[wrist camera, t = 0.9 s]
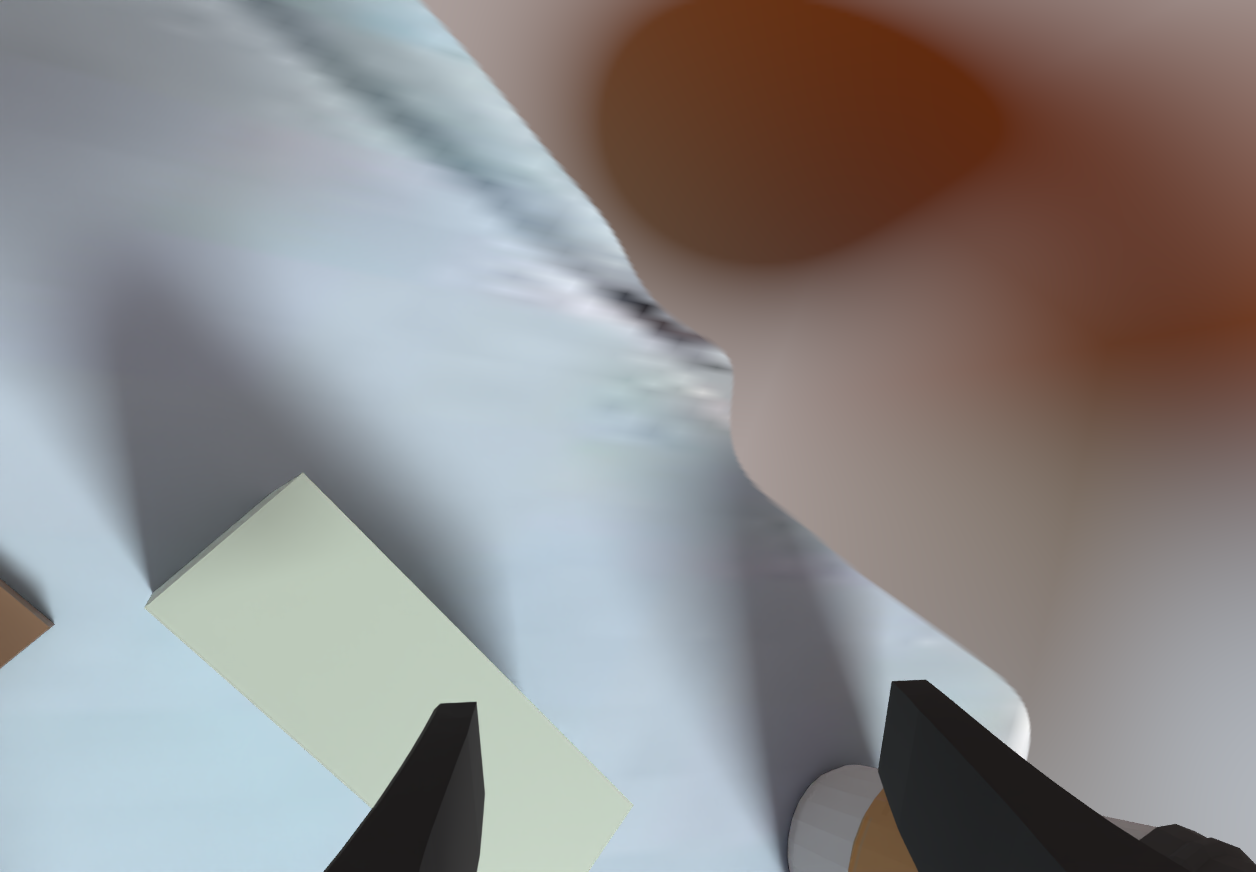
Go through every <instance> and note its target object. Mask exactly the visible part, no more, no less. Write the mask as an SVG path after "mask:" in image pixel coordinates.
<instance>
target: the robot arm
mask: <svg viewBox="0 0 1256 872" xmlns="http://www.w3.org/2000/svg"><path fill="white" fill-rule="evenodd" d="M878 774H879V777H880V780H881V783H882V786H883V788H884V791H885V794H886V797H887V800H888V803H889V806H890V809H891V812H892V814H893V817H894V820H895V823H896V825H897V828H898V831H899V833H900V835H901V837H902V839H903V841H904V843H905V845H906V848H907V850H908V852H909V854H910V856H911V858H912V860H913V862H914V864H915V866H916V868H917V870H918V872H1191V871H1189V870H1188V869H1186V868H1184V867H1182V866H1181V865H1179V864H1177V863H1176V862H1174V861H1172V860H1171V859H1169V858H1167V857H1165V856H1164V855H1162V854H1160V853H1159V852H1157V851H1156V850H1154V849H1152V848H1151V847H1149V846H1148V845H1146V844H1145V843H1143V842H1141V841H1140V840H1138V839H1137V838H1135V837H1133V836H1132V835H1130V834H1129V833H1127V832H1126V831H1124V830H1122V829H1121V828H1119V827H1118V826H1116V825H1115V824H1113V823H1112V822H1110V821H1109V820H1107V819H1106V818H1104V817H1103V816H1101V815H1100V814H1098V813H1097V812H1095V811H1094V810H1092V809H1091V808H1089V807H1088V806H1087V805H1085V804H1084V803H1083V802H1081V801H1080V800H1078V799H1077V798H1076V797H1074V796H1073V795H1071V794H1070V793H1069V792H1067V791H1066V790H1064V789H1063V788H1062V787H1060V786H1059V785H1057V784H1056V783H1055V782H1053V781H1052V780H1051V779H1049V778H1048V777H1046V776H1045V775H1044V774H1043V773H1041V772H1040V771H1039V770H1037V769H1036V768H1035V767H1034V766H1032V765H1031V764H1030V763H1028V762H1027V761H1026V760H1025V759H1023V758H1022V757H1021V756H1019V755H1018V754H1017V753H1016V752H1014V751H1013V750H1012V749H1011V748H1009V747H1008V746H1007V745H1006V744H1004V743H1003V742H1002V741H1001V740H999V739H998V738H997V737H996V736H994V735H993V734H992V733H991V732H990V731H988V730H987V729H986V728H985V727H983V726H982V725H981V724H980V723H979V722H977V721H976V720H975V719H974V718H972V717H971V716H970V715H969V714H968V713H966V712H965V711H964V710H963V709H962V708H960V707H959V706H958V705H957V704H956V703H954V702H953V701H952V700H951V699H949V698H948V697H947V696H946V695H945V694H943V693H942V692H941V691H940V690H938V689H937V688H936V687H935V686H933V685H932V684H931V683H929V682H928V681H927V680H909V681H892V683H891V690H890V696H889V703H888V709H887V716H886V722H885V729H884V735H883V742H882V748H881V755H880V761H879V768H878ZM484 802H485V787H484V776H483V765H482V755H481V744H480V733H479V722H478V711H477V702H458V703H440V704H439V705H438V706H437V707H436V708H435V709H434V710H433V712H432V714H431V716H430V718H429V720H428V722H427V723H426V725H425V727H424V729H423V731H422V732H421V734H420V736H419V737H418V739H417V741H416V743H415V744H414V746H413V748H412V749H411V751H410V752H409V754H408V756H407V757H406V759H405V760H404V762H403V764H402V765H401V767H400V768H399V770H398V771H397V773H396V774H395V776H394V777H393V779H392V780H391V782H390V783H389V785H388V786H387V788H386V789H385V791H384V792H383V794H382V795H381V797H380V798H379V800H378V801H377V802H376V804H375V805H374V807H373V808H372V810H371V811H370V812H369V814H368V815H367V816H366V818H365V819H364V820H363V822H362V823H361V824H360V826H359V827H358V828H357V830H356V831H355V832H354V834H353V835H352V836H351V838H350V839H349V840H348V842H347V843H346V844H345V846H344V847H343V848H342V849H341V851H340V852H339V853H338V855H337V856H336V857H335V858H334V859H333V861H332V862H331V863H330V864H329V866H328V867H327V868H326V869H325V870H324V872H477V869H478V863H479V858H480V849H481V838H482V827H483V814H484Z"/></svg>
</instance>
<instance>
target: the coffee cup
mask: <svg viewBox="0 0 1256 872" xmlns="http://www.w3.org/2000/svg"><path fill="white" fill-rule="evenodd" d="M1103 817H1104V818H1106V819H1107V820H1109V821H1110V822H1112V823H1113V824H1115V825H1116V826H1118V827H1119V828H1121V829H1122V830H1124V831H1126V832H1127V833H1129V834H1130V835H1132V836H1133V837H1135V838H1137V839H1138V840H1140V841H1141V842H1143V843H1145V844H1146V845H1148V846H1149V847H1151V848H1152V849H1154V850H1156V851H1157V852H1159V853H1160V854H1162V855H1164V856H1165V857H1167V858H1169V859H1171V860H1172V861H1174V862H1176V863H1177V864H1179V865H1181V866H1182V867H1184V868H1186V869H1188V870H1189V871H1191V872H1256V864H1255V863H1254V862H1253V861H1252V860H1251V859H1250V858H1249V857H1248V856H1247V855H1246V854H1245V853H1244V852H1243V851H1242V850H1241V849H1240V848H1238V847H1235V846H1233V845H1230V844H1227V843H1225V842H1222V841H1219V840H1217V839H1214V838H1206V837H1204V836H1203V835H1201V834H1199V833H1197V832H1195V831H1192V830H1190V829H1187V828H1185V827H1182V826H1180V825H1177V824H1173V825H1167V826H1161V827H1153V826H1148V825H1143V824H1138V823H1134V822H1129V821H1124V820H1120V819H1114V818H1110V817H1105V816H1103ZM788 864H789V870H790V872H918V870H917V868H916V866H915V864H914V862H913V860H912V858H911V856H910V854H909V852H908V850H907V848H906V845H905V843H904V841H903V839H902V837H901V835H900V833H899V831H898V828H897V825H896V823H895V820H894V817H893V814H892V812H891V809H890V806H889V803H888V800H887V797H886V794H885V791H884V788H883V786H882V783H881V780H880V777H879V774H878V769H877V768H873V767H868V766H863V765H844V766H842V767H840V768H838V769H834V770H831V771H829V772H827V773H825V774H823V775H821V776H820V777H819V778H818V779H816V780H815V781H814V782H813V783H812V784H811V785H810V786H809V787H808V789H807V790H806V792H805V793H804V795H803V796H802V798H801V799H800V801H799V803H798V805H797V808H796V810H795V813H794V815H793V818H792V822H791V827H790V831H789V836H788Z"/></svg>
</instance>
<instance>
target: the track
mask: <svg viewBox="0 0 1256 872" xmlns="http://www.w3.org/2000/svg"><path fill="white" fill-rule="evenodd" d="M53 625H55V624H54V623H52V622H51V621H50V620H49V619H48V618H46V617H45V616H44V615H43V614H42V613H41V612H39V611H38V610H37V609H36V608H35V607H33V606H32V605H31V604H30V603H29V602H27V601H26V600H25V599H24V598H23V597H22V596H20V595H19V594H18V593H17V592H16V591H14V590H13V589H12V588H11V587H10V586H8V585H7V584H6V583H5V582H4V581H3V580H1V579H0V668H2V667H3V666H4V665H5V664H7V663H8V662H9V661H10V660H12V659H13V658H14V657H15V656H16V655H18V654H19V653H20V652H21V651H23V650H24V649H25V648H26V647H27V646H29V645H30V644H31V643H32V642H34V641H35V640H36V639H37V638H39V637H40V636H41V635H42V634H43V633H45V632H46V631H47V630H48V629H50V628H51V627H52V626H53Z"/></svg>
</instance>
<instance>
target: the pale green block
mask: <svg viewBox="0 0 1256 872" xmlns="http://www.w3.org/2000/svg"><path fill="white" fill-rule="evenodd" d="M145 609H146V610H147V611H148V612H149V613H151V614H152V615H153V616H154V617H155V618H156V619H157V620H158V621H160V622H161V623H162V624H163V625H164V626H165V627H166V628H168V629H169V630H170V631H171V632H172V633H173V634H174V635H175V636H177V637H178V638H179V639H180V640H181V641H182V642H183V643H185V644H186V645H187V646H188V647H189V648H190V649H191V650H193V651H194V652H195V653H196V654H197V655H198V656H199V657H200V658H202V659H203V660H204V661H205V662H206V663H207V664H208V665H210V666H211V667H212V668H213V669H214V670H215V671H216V672H217V673H219V674H220V675H221V676H222V677H223V678H224V679H225V680H227V681H228V682H229V683H230V684H231V685H232V686H233V687H234V688H236V689H237V690H238V691H239V692H240V693H241V694H242V695H244V696H245V697H246V698H247V699H248V700H249V701H250V702H252V703H253V704H254V705H255V706H256V707H257V708H258V709H259V710H261V711H262V712H263V713H264V714H265V715H266V716H267V717H269V718H270V719H271V720H272V721H273V722H274V723H275V724H276V725H278V726H279V727H280V728H281V729H282V730H283V731H284V732H286V733H287V734H288V735H289V736H290V737H291V738H292V739H294V740H295V741H296V742H297V743H298V744H299V745H300V746H301V747H303V748H304V749H305V750H306V751H307V752H308V753H309V754H311V755H312V756H313V757H314V758H315V759H316V760H317V761H318V762H320V763H321V764H322V765H323V766H324V767H325V768H326V769H328V770H329V771H330V772H331V773H332V774H333V775H334V776H335V777H337V778H338V779H339V780H340V781H341V782H342V783H343V784H345V785H346V786H347V787H348V788H349V789H350V790H351V791H353V792H354V793H355V794H356V795H357V796H358V797H359V798H360V799H362V800H363V801H364V802H365V803H366V804H367V805H368V806H370V807H371V808H373V807H374V805H375V804H376V802H377V801H378V800H379V798H380V797H381V795H382V794H383V792H384V791H385V789H386V788H387V786H388V785H389V783H390V782H391V780H392V779H393V777H394V776H395V774H396V773H397V771H398V770H399V768H400V767H401V765H402V764H403V762H404V760H405V759H406V757H407V756H408V754H409V752H410V751H411V749H412V748H413V746H414V744H415V743H416V741H417V739H418V737H419V736H420V734H421V732H422V731H423V729H424V727H425V725H426V723H427V722H428V720H429V718H430V716H431V714H432V712H433V710H434V709H435V708H436V707H437V706H438V705H439V704H440V703H458V702H477V711H478V722H479V733H480V744H481V755H482V765H483V776H484V787H485V802H484V814H483V827H482V838H481V849H480V858H479V863H478V869H477V872H588V871H589V870H590V869H591V867H592V866H593V864H594V863H595V861H596V860H597V858H598V857H599V855H600V854H601V852H602V851H603V849H604V848H605V846H606V845H607V843H608V842H609V841H610V839H611V838H612V836H613V835H614V833H615V832H616V830H617V829H618V827H619V826H620V824H621V823H622V821H623V820H624V818H625V817H626V816H627V814H628V813H629V811H630V810H631V808H632V807H633V804H632V803H631V802H630V801H629V800H628V799H627V798H626V797H625V796H624V795H623V794H622V793H621V792H620V791H619V790H618V789H617V788H616V787H615V786H614V785H613V784H612V783H611V782H610V781H609V780H608V779H607V778H606V777H605V776H604V775H603V774H602V773H601V772H600V771H599V770H598V769H597V768H596V767H595V766H594V765H593V764H592V763H591V762H590V761H589V760H588V759H587V758H586V757H585V756H584V755H583V754H582V753H581V752H580V751H579V750H578V749H577V748H576V747H575V746H574V745H573V744H572V743H571V742H570V741H569V740H568V739H567V738H566V737H565V736H564V735H563V734H562V733H561V732H560V731H559V730H558V729H557V728H556V727H555V726H554V725H553V724H552V723H551V722H550V721H549V720H548V719H547V718H546V717H545V716H544V715H543V714H542V713H541V712H540V711H539V710H538V709H537V707H536V706H535V705H534V704H533V703H532V702H531V701H530V700H529V699H528V698H527V697H526V696H525V695H524V694H523V693H522V692H521V691H520V690H519V689H518V688H517V687H516V686H515V685H514V684H513V683H512V682H511V681H510V680H509V679H508V678H507V677H506V676H505V675H504V674H503V673H502V672H501V671H500V670H499V669H498V668H497V667H496V666H495V665H494V664H493V663H492V662H491V661H490V660H489V659H488V658H487V657H486V656H485V655H484V654H483V653H482V652H481V651H480V650H479V649H478V648H477V647H476V646H475V645H474V644H473V643H472V642H471V641H470V640H469V639H468V638H467V637H466V636H465V635H464V634H463V633H462V632H461V631H460V630H459V629H458V628H457V627H456V626H455V625H454V624H453V623H452V622H451V621H450V620H449V619H448V618H447V617H446V616H445V615H444V614H443V613H442V612H441V611H440V610H439V609H438V608H437V607H436V606H435V605H434V604H433V603H432V602H431V601H430V600H429V599H428V598H427V597H426V596H425V595H424V594H423V593H422V592H421V591H420V590H419V589H418V588H417V587H416V586H415V585H414V584H413V583H412V582H411V581H410V580H409V579H408V578H407V577H406V576H405V575H404V574H403V573H402V572H401V571H400V570H399V569H398V568H397V567H396V566H395V565H394V564H393V563H392V562H391V561H390V560H389V559H388V558H387V556H386V555H385V554H384V553H383V552H382V551H381V550H380V549H379V548H378V547H377V546H376V545H375V544H374V543H373V542H372V541H371V540H370V539H369V538H368V537H367V536H366V535H365V534H364V533H363V532H362V531H361V530H360V529H359V528H358V527H357V526H356V525H355V524H354V523H353V522H352V521H351V520H350V519H349V518H348V517H347V516H346V515H345V514H344V513H343V512H342V511H341V510H340V509H339V508H338V507H337V506H336V505H335V504H334V503H333V502H332V501H331V500H330V499H329V498H328V497H327V496H326V495H325V494H324V493H323V492H322V491H321V490H320V489H319V488H318V487H317V486H316V485H315V484H314V483H313V482H312V481H311V480H310V479H309V478H308V477H307V476H306V475H305V474H304V473H302V474H300V475H299V476H297V477H295V478H294V479H292V480H291V481H289V482H288V483H286V484H284V485H283V486H281V487H280V488H278V489H277V490H275V491H273V492H272V493H270V494H269V495H268V496H267V497H266V498H264V499H263V500H262V501H261V502H260V503H258V504H257V505H256V506H255V507H254V508H253V509H251V510H250V511H249V512H248V513H247V514H245V515H244V516H243V517H242V518H241V519H240V520H238V521H237V522H236V523H235V524H234V525H232V526H231V527H230V528H229V529H228V530H227V531H225V532H224V533H223V534H222V535H221V536H219V537H218V538H217V539H216V540H215V541H214V542H212V543H211V544H210V545H209V546H208V547H206V548H205V549H204V550H203V551H202V552H201V553H199V554H198V555H197V556H196V557H195V558H193V559H192V560H191V561H190V562H189V563H188V564H186V565H185V566H184V567H183V568H182V569H180V570H179V571H178V572H177V573H176V574H175V575H173V576H172V577H171V578H170V579H169V580H167V581H166V582H165V583H164V584H163V585H162V586H160V587H159V588H158V589H157V590H156V591H154V592H153V593H152V595H151V597H150V598H149V600H148V602H147V604H146V606H145Z"/></svg>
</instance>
